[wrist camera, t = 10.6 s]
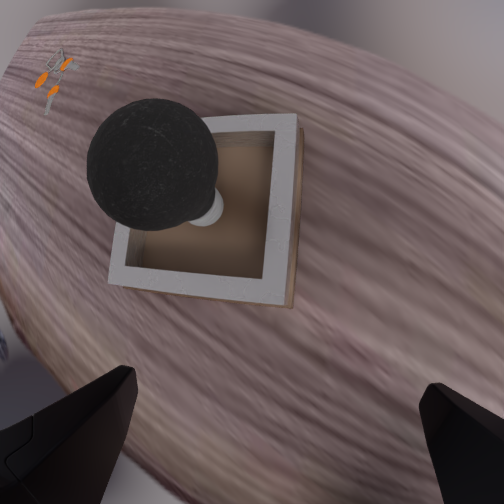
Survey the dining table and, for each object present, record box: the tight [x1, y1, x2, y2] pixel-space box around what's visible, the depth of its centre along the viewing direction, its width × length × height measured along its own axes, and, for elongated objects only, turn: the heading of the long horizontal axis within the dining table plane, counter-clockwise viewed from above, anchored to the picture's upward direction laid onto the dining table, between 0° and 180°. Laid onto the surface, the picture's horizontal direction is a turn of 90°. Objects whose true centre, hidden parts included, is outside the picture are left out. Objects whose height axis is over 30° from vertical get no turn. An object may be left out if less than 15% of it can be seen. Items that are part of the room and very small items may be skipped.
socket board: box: [123, 128, 304, 309], centre depth 20 cm, size 11×11×1 cm
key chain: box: [35, 48, 79, 116], centre depth 28 cm, size 13×7×1 cm, turn 38°
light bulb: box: [87, 99, 224, 231], centre depth 14 cm, size 6×6×10 cm
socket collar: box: [108, 114, 300, 305], centre depth 18 cm, size 11×11×2 cm
